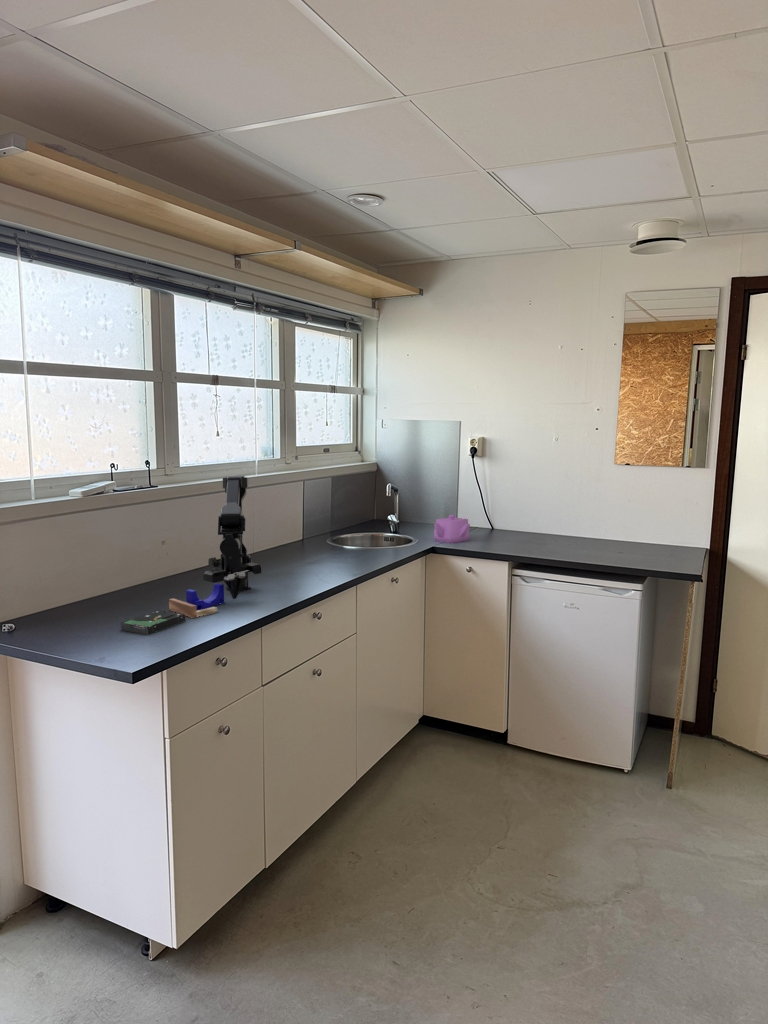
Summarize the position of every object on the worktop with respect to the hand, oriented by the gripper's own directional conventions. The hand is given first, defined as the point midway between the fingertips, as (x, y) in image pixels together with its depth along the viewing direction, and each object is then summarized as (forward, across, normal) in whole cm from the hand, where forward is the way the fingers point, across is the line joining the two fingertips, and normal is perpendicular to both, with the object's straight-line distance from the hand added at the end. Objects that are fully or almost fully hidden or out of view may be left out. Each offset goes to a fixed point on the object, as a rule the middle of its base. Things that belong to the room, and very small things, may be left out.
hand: (234, 598), depth 223 cm
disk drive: (+2, +30, +4) cm, 31 cm away
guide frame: (+1, +14, 0) cm, 14 cm away
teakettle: (+2, -138, -18) cm, 139 cm away
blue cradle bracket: (+1, +9, -2) cm, 9 cm away
